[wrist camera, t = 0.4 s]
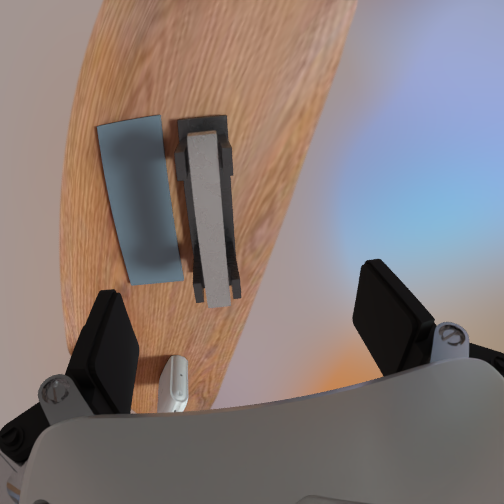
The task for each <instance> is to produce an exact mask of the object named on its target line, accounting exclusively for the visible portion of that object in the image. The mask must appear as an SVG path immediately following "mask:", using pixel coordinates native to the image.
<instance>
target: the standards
mask: <svg viewBox="0 0 504 504" xmlns="http://www.w3.org/2000/svg"><path fill="white" fill-rule="evenodd" d="M177 121H178V132H179V144H178V146H177V149H176V151H175V153H174V155H175V164H176V173H177V181H183V180H184V189H185V197H186V205H187V212H188V220H189V227H190V234H191V241H192V248H193V255H194V263H193V287H194V293H195V298H196V303H201V302H204V288H205V283H204V276H203V269H202V262H201V255H200V248H199V241H198V233H197V225H196V217H195V209H194V200H193V192H192V183H191V173H190V163H189V153H188V143H187V135H188V133H195V132H205V131H216V133H217V147H218V161H219V175H220V188H221V201H222V213H223V225H224V237H225V248H226V259H227V270H228V281H229V286H230V285H231V286H232V292H233V299H238V298H241V287H240V277H239V272H238V266H237V261H236V252H235V238H234V224H233V209H232V194H231V178H230V176H233V162H232V147H231V145H230V143H229V141H228V128H227V115H219V116H208V117H197V118H188V119H179V120H177Z"/></svg>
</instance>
